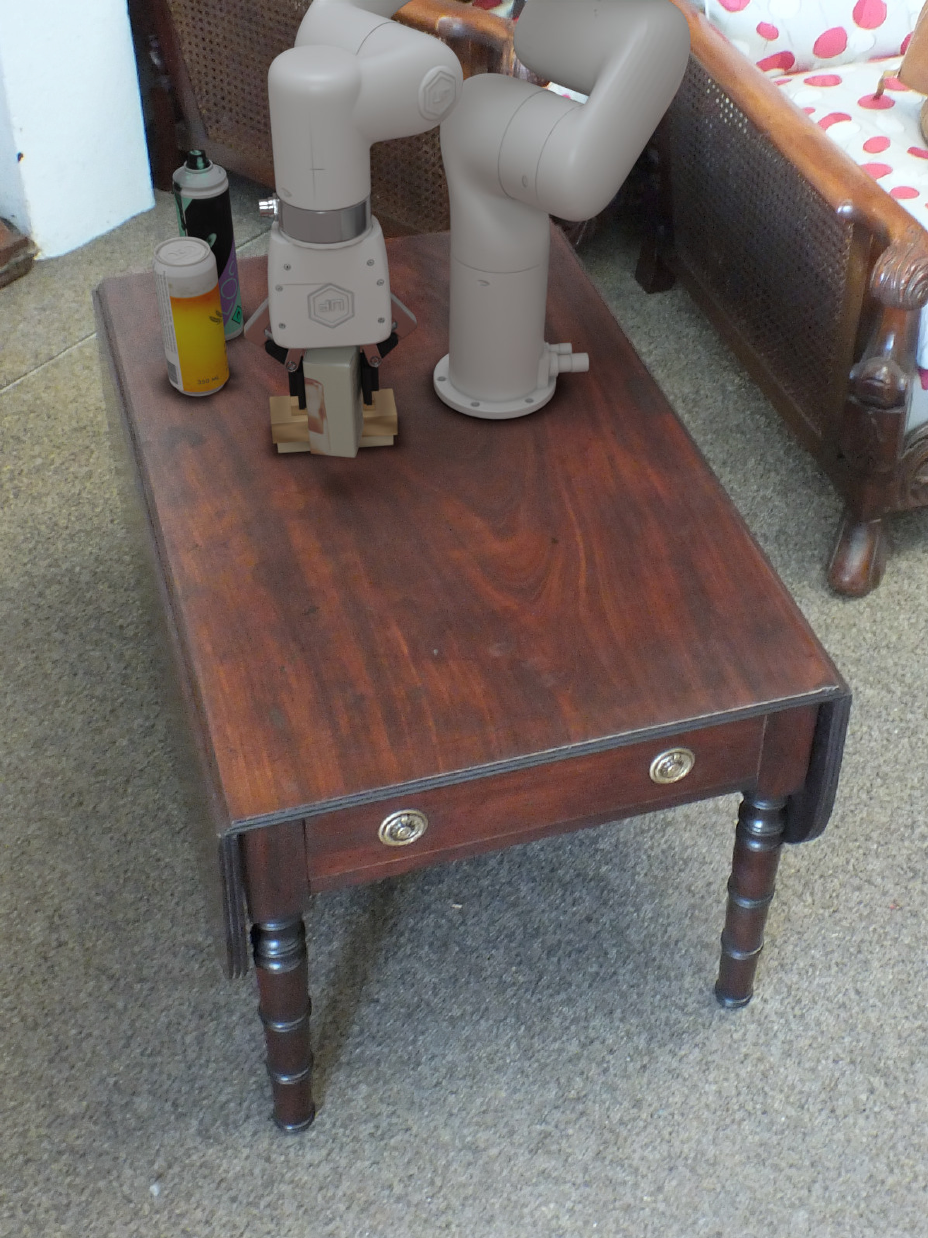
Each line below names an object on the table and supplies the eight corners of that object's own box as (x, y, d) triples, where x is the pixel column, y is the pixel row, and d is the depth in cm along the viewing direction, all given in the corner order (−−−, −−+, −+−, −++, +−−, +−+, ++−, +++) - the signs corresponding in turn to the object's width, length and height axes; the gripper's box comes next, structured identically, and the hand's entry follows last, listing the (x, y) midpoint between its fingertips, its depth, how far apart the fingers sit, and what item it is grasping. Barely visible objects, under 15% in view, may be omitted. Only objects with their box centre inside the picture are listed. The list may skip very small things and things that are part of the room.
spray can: (222, 347, 147) (200, 169, 133) (182, 332, 149) (156, 155, 135) (254, 324, 150) (236, 148, 136) (214, 309, 152) (193, 134, 138)
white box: (318, 422, 129) (312, 328, 122) (365, 426, 128) (362, 332, 121) (307, 455, 125) (300, 361, 118) (355, 460, 125) (351, 365, 118)
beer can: (242, 381, 142) (227, 250, 132) (195, 406, 139) (176, 273, 128) (204, 358, 145) (187, 228, 135) (158, 382, 142) (136, 250, 131)
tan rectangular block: (393, 419, 138) (392, 378, 134) (397, 446, 135) (396, 404, 131) (272, 428, 136) (268, 386, 133) (274, 455, 133) (269, 412, 130)
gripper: (217, 239, 107) (239, 430, 120) (436, 228, 109) (434, 417, 122) (216, 193, 112) (237, 381, 125) (424, 184, 114) (424, 369, 127)
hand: (334, 397), depth 123 cm, fingers closed on white box, 5 cm apart
